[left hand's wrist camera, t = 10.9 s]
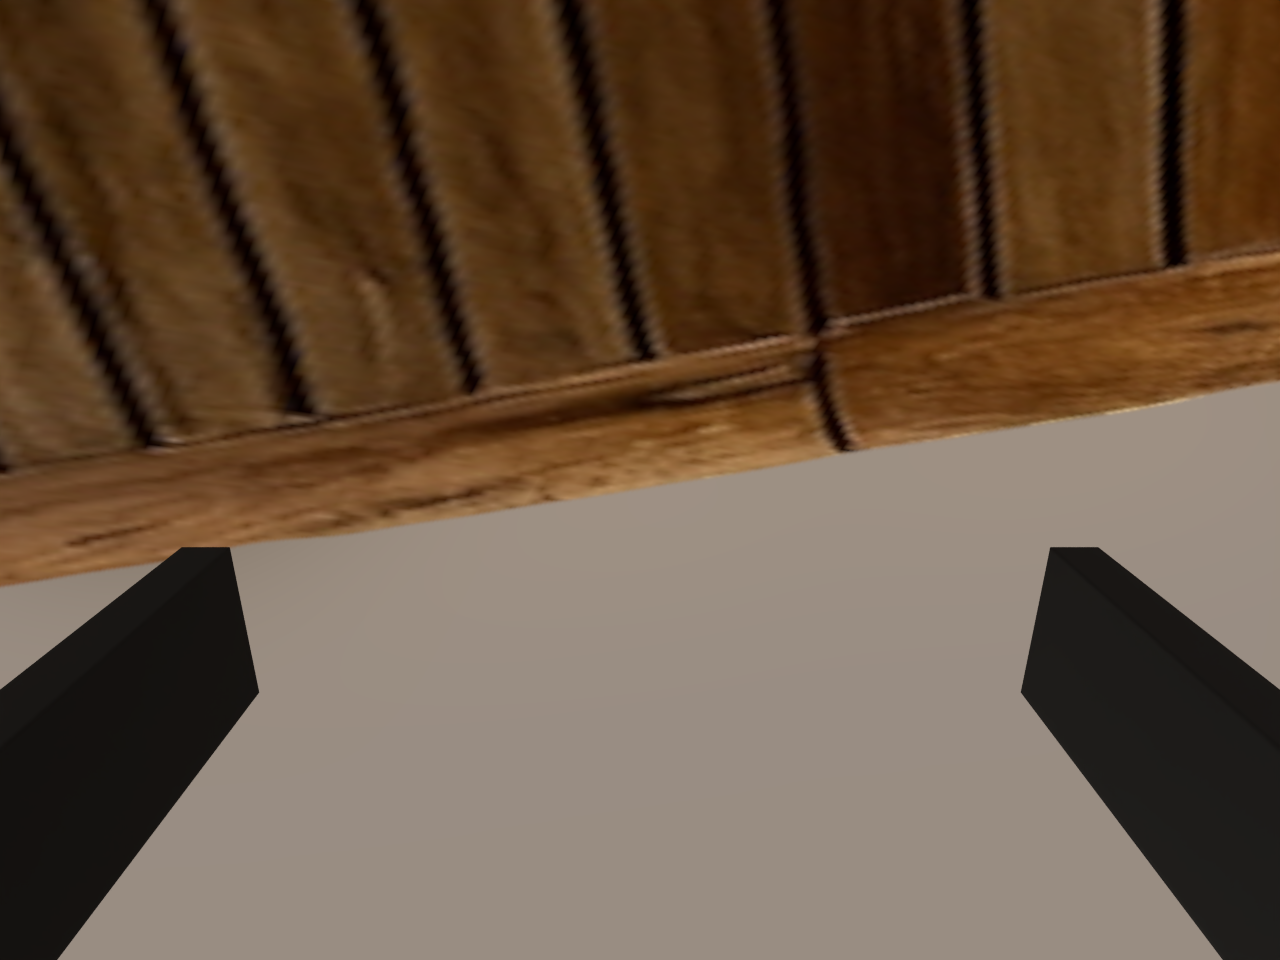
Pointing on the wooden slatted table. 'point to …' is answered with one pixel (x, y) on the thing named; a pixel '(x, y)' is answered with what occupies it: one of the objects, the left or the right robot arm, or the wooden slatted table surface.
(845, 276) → the wooden slatted table surface
